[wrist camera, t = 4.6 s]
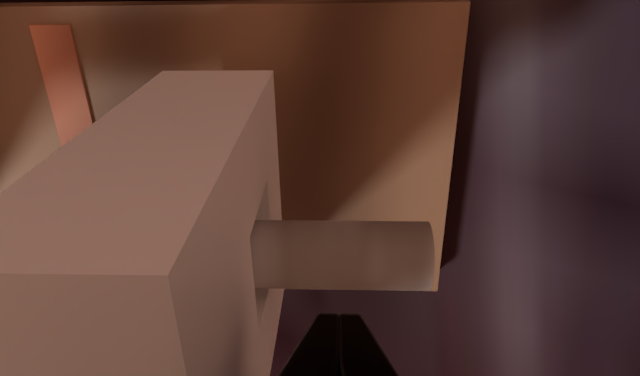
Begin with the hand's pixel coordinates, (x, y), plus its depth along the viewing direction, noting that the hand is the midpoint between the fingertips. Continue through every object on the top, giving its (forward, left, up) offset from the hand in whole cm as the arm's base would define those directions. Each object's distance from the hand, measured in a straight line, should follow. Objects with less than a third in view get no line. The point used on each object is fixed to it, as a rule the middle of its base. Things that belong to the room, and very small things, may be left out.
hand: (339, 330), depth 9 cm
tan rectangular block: (+3, 0, -6) cm, 7 cm away
